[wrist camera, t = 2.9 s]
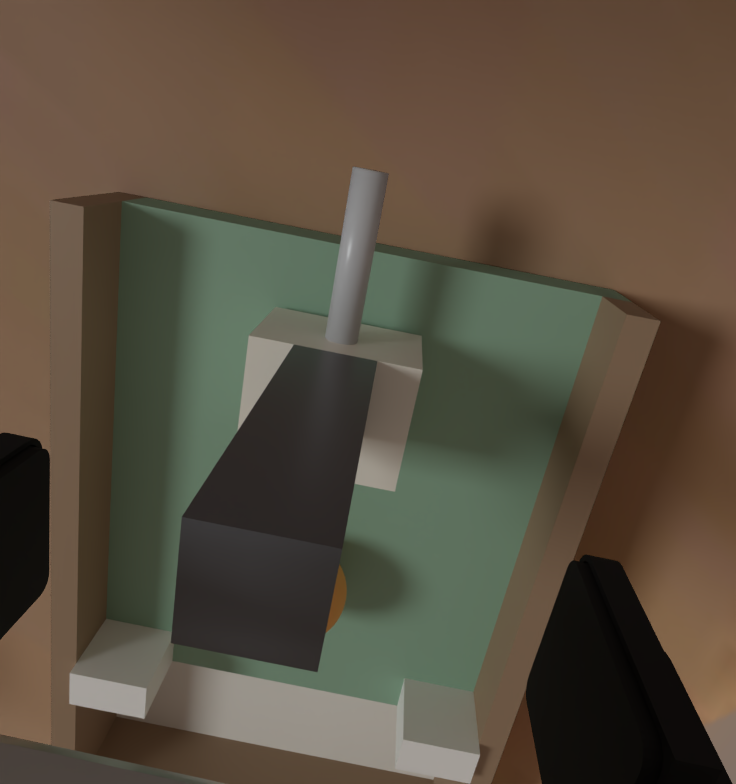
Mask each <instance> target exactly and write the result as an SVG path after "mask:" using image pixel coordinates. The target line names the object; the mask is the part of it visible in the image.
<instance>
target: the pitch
mask: <svg viewBox="0 0 736 784" xmlns="http://www.w3.org/2000/svg"><path fill="white" fill-rule="evenodd" d="M340 242H341V236H338V235H333V234H328V233H323V232H318V231H313V230H308V229H303V228H298V227H293V226H288V225H283V224H278V223H273V222H268V221H263V220H258V219H253V218H248V217H242V216H237V215H232V214H227V213H222V212H217V211H212V210H207V209H202V208H197V207H192V206H187V205H182V204H177V203H172V202H167V201H162V200H157V199H152V198H147V197H141V196H136V195H131V194H126V193H121V192H115V193H107V194H98V195H89V196H81V197H72V198H63V199H55V200H50V450H51V745H52V746H57V747H61V748H66V749H71V750H75V751H80V752H84V753H89V754H94V755H98V756H103V757H107V758H112V759H116V760H121V761H125V762H130V763H135V764H139V765H144V766H148V767H153V768H157V769H162V770H166V771H171V772H175V773H180V774H185V775H189V776H194V777H198V778H203V779H207V780H212V781H216V782H221V783H225V784H491V783H492V780H493V778H494V775H495V772H496V769H497V767H498V764H499V761H500V758H501V756H502V753H503V750H504V748H505V745H506V742H507V739H508V737H509V734H510V731H511V728H512V726H513V723H514V720H515V717H516V715H517V712H518V709H519V707H520V704H521V701H522V698H523V696H524V693H525V690H526V686H527V680H528V677H529V674H530V671H531V668H532V665H533V662H534V660H535V657H536V654H537V651H538V648H539V646H540V643H541V640H542V637H543V634H544V631H545V629H546V626H547V623H548V620H549V617H550V615H551V612H552V609H553V606H554V603H555V601H556V598H557V595H558V592H559V589H560V587H561V584H562V581H563V578H564V575H565V573H566V570H567V567H568V565H569V563H570V562H571V561H573V559H574V557H575V554H576V551H577V548H578V546H579V543H580V540H581V537H582V535H583V532H584V529H585V527H586V524H587V521H588V518H589V516H590V513H591V510H592V507H593V505H594V502H595V499H596V497H597V494H598V491H599V488H600V486H601V483H602V480H603V477H604V475H605V472H606V469H607V467H608V464H609V461H610V458H611V456H612V453H613V450H614V447H615V445H616V442H617V439H618V437H619V434H620V431H621V428H622V426H623V423H624V420H625V417H626V415H627V412H628V409H629V407H630V404H631V401H632V398H633V396H634V393H635V390H636V387H637V385H638V382H639V379H640V377H641V374H642V371H643V368H644V366H645V363H646V360H647V357H648V355H649V352H650V349H651V347H652V344H653V341H654V338H655V336H656V333H657V330H658V327H659V325H660V322H661V321H660V320H658V319H657V318H655V317H654V316H652V315H651V314H649V313H648V312H646V311H645V310H643V309H642V308H640V307H639V306H637V305H636V304H634V303H633V302H631V301H630V300H628V299H627V298H625V297H624V296H622V295H621V294H619V293H618V292H616V291H615V290H611V289H606V288H601V287H596V286H591V285H586V284H581V283H576V282H571V281H566V280H561V279H556V278H550V277H545V276H540V275H535V274H530V273H525V272H520V271H515V270H510V269H505V268H500V267H495V266H490V265H485V264H480V263H475V262H470V261H465V260H460V259H455V258H449V257H444V256H439V255H434V254H429V253H424V252H419V251H414V250H409V249H404V248H399V247H394V246H389V245H384V244H379V243H376V245H375V250H374V256H373V261H372V267H371V272H370V277H369V283H368V288H367V294H366V299H365V304H364V310H363V315H362V321H361V324H365V325H370V326H375V327H380V328H385V329H390V330H395V331H400V332H405V333H410V334H415V335H420V336H422V362H423V371H422V376H421V380H420V384H419V389H418V393H417V397H416V402H415V406H414V410H413V415H412V419H411V424H410V428H409V432H408V437H407V441H406V445H405V450H404V454H403V458H402V463H401V467H400V471H399V476H398V480H397V485H396V489H395V492H393V491H388V490H383V489H378V488H373V487H368V486H363V485H358V484H354V490H353V495H352V500H351V506H350V511H349V516H348V522H347V527H346V532H345V538H344V543H343V548H342V553H341V558H340V563H339V564H340V566H341V568H342V570H343V573H344V575H345V579H346V585H347V596H346V602H345V606H344V609H343V611H342V613H341V615H340V617H339V619H338V621H337V622H336V623H335V625H334V626H333V627H332V628H331V629H330V630H329V631H328V632H326V633H325V638H324V643H323V648H322V653H321V658H320V663H319V668H318V672H313V671H308V670H303V669H298V668H293V667H288V666H283V665H278V664H273V663H268V662H263V661H258V660H253V659H248V658H243V657H238V656H233V655H228V654H223V653H218V652H213V651H208V650H203V649H198V648H193V647H188V646H182V645H177V644H172V643H171V634H172V623H173V611H174V600H175V588H176V576H177V565H178V553H179V542H180V530H181V519H182V516H183V514H184V513H185V511H186V510H187V508H188V506H189V505H190V503H191V502H192V500H193V499H194V497H195V496H196V494H197V493H198V491H199V490H200V488H201V486H202V485H203V483H204V482H205V480H206V479H207V477H208V476H209V474H210V473H211V471H212V470H213V468H214V467H215V465H216V463H217V462H218V460H219V459H220V457H221V456H222V454H223V453H224V451H225V450H226V448H227V447H228V445H229V443H230V442H231V440H232V439H233V437H234V436H235V434H236V433H237V430H238V422H239V413H240V405H241V397H242V388H243V380H244V371H245V363H246V354H247V346H248V337H249V335H250V334H251V332H252V331H253V330H254V329H255V328H256V327H257V326H258V325H259V324H260V323H261V322H262V321H263V320H264V319H265V318H266V317H267V315H268V314H269V313H270V312H271V311H272V310H273V309H274V308H275V307H279V308H284V309H289V310H294V311H299V312H304V313H309V314H314V315H319V316H324V317H328V315H329V309H330V303H331V297H332V291H333V284H334V278H335V272H336V266H337V260H338V254H339V248H340Z"/></svg>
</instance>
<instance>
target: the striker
mask: <svg viewBox="0 0 736 784" xmlns="http://www.w3.org/2000/svg"><path fill="white" fill-rule="evenodd" d="M388 175H389V174H388V173H384V172H380V171H375V170H370V169H365V168H359V167H353V169H352V175H351V181H350V187H349V193H348V200H347V206H346V212H345V218H344V224H343V230H342V236H341V242H340V248H339V254H338V260H337V266H336V272H335V278H334V284H333V291H332V297H331V303H330V309H329V315H328V317H324V316H319V315H314V314H309V313H304V312H299V311H294V310H289V309H284V308H279V307H275V308H274V309H273V310H272V311H271V312H270V313H269V314H268V315H267V317H266V318H265V319H264V320H263V321H262V322H261V323H260V324H259V325H258V326H257V327H256V328H255V329H254V330H253V331H252V332H251V334H250V335H249V337H248V346H247V354H246V363H245V371H244V380H243V388H242V397H241V405H240V413H239V422H238V430H237V433H236V434H235V436H234V437H233V439H232V440H231V442H230V443H229V445H228V447H227V448H226V450H225V451H224V453H223V454H222V456H221V457H220V459H219V460H218V462H217V463H216V465H215V467H214V468H213V470H212V471H211V473H210V474H209V476H208V477H207V479H206V480H205V482H204V483H203V485H202V486H201V488H200V490H199V491H198V493H197V494H196V496H195V497H194V499H193V500H192V502H191V503H190V505H189V506H188V508H187V510H186V511H185V513H184V514H183V516H182V519H181V530H180V542H179V553H178V565H177V576H176V588H175V600H174V611H173V623H172V634H171V643H172V644H177V645H182V646H188V647H193V648H198V649H203V650H208V651H213V652H218V653H223V654H228V655H233V656H238V657H243V658H248V659H253V660H258V661H263V662H268V663H273V664H278V665H283V666H288V667H293V668H298V669H303V670H308V671H313V672H318V668H319V663H320V658H321V653H322V648H323V643H324V638H325V633H326V628H327V623H328V618H329V613H330V608H331V603H332V598H333V593H334V588H335V583H336V578H337V573H338V568H339V563H340V558H341V553H342V548H343V543H344V538H345V532H346V527H347V522H348V516H349V511H350V506H351V500H352V495H353V490H354V484H358V485H363V486H368V487H373V488H378V489H383V490H388V491H393V492H395V489H396V485H397V480H398V476H399V471H400V467H401V463H402V458H403V454H404V450H405V445H406V441H407V437H408V432H409V428H410V424H411V419H412V415H413V410H414V406H415V402H416V397H417V393H418V389H419V384H420V380H421V376H422V371H423V362H422V336H420V335H415V334H410V333H405V332H400V331H395V330H390V329H385V328H380V327H375V326H370V325H365V324H361V321H362V315H363V310H364V304H365V299H366V294H367V288H368V283H369V277H370V272H371V267H372V261H373V256H374V250H375V245H376V240H377V234H378V229H379V223H380V218H381V213H382V207H383V202H384V197H385V191H386V186H387V180H388Z"/></svg>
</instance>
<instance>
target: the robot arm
mask: <svg viewBox="0 0 736 784" xmlns="http://www.w3.org/2000/svg"><path fill="white" fill-rule="evenodd" d="M49 484H50V458H49V453H48V451H47V450H46V449H42V445H41V443H40V441H38V440H37V439H34V438H29V437H24V436H20V435H15V434H10V433H1V434H0V639H1V638H2V637H3V636H4V635H5V634H6V633H7V632H8V630H9V629H10V628H11V627H12V626H13V625H14V624H15V623H16V622H17V621H18V619H19V618H20V617H21V616H22V615H23V614H24V613H25V612H26V611H27V610H28V608H29V607H30V606H31V605H32V604H33V603H34V602H35V601H36V600H37V599H38V597H39V596H40V595H41V594H42V592H43V591H44V589H45V587H46V584H47V581H48V577H49ZM526 700H527V706H528V711H529V716H530V722H531V727H532V732H533V738H534V743H535V748H536V754H537V759H538V764H539V770H540V775H541V780H542V784H732V782H731V780H730V778H729V776H728V774H727V772H726V770H725V768H724V766H723V764H722V762H721V760H720V758H719V756H718V754H717V752H716V750H715V748H714V746H713V744H712V742H711V740H710V738H709V736H708V734H707V732H706V730H705V728H704V726H703V724H702V722H701V720H700V718H699V716H698V714H697V712H696V710H695V708H694V706H693V704H692V702H691V700H690V698H689V696H688V694H687V692H686V690H685V688H684V686H683V684H682V682H681V680H680V678H679V676H678V674H677V672H676V670H675V668H674V666H673V664H672V662H671V660H670V658H669V657H668V655H667V654H666V652H664V650H663V648H662V646H661V644H660V642H659V640H658V638H657V636H656V634H655V632H654V630H653V628H652V626H651V624H650V622H649V620H648V618H647V616H646V614H645V612H644V610H643V608H642V606H641V604H640V602H639V600H638V597H637V595H636V593H635V591H634V589H633V587H632V585H631V583H630V581H629V579H628V577H627V575H626V573H625V571H624V569H623V567H622V565H621V564H620V563H619V562H618V561H614V560H609V559H605V558H600V557H595V556H590V555H584V556H583V557H582V558H581V559H580V561H579V562H578V561H574V560H573V561H571V562H570V563H569V565H568V567H567V570H566V573H565V575H564V578H563V581H562V584H561V587H560V589H559V592H558V595H557V598H556V601H555V603H554V606H553V609H552V612H551V615H550V617H549V620H548V623H547V626H546V629H545V631H544V634H543V637H542V640H541V643H540V646H539V648H538V651H537V654H536V657H535V660H534V662H533V665H532V668H531V671H530V674H529V677H528V680H527V686H526ZM0 784H225V783H221V782H216V781H212V780H207V779H203V778H198V777H194V776H189V775H185V774H180V773H175V772H171V771H166V770H162V769H157V768H153V767H148V766H144V765H139V764H135V763H130V762H125V761H121V760H116V759H112V758H107V757H103V756H98V755H94V754H89V753H84V752H80V751H75V750H71V749H66V748H61V747H57V746H52V745H47V744H43V743H38V742H33V741H29V740H24V739H19V738H15V737H10V736H5V735H1V734H0Z"/></svg>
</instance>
